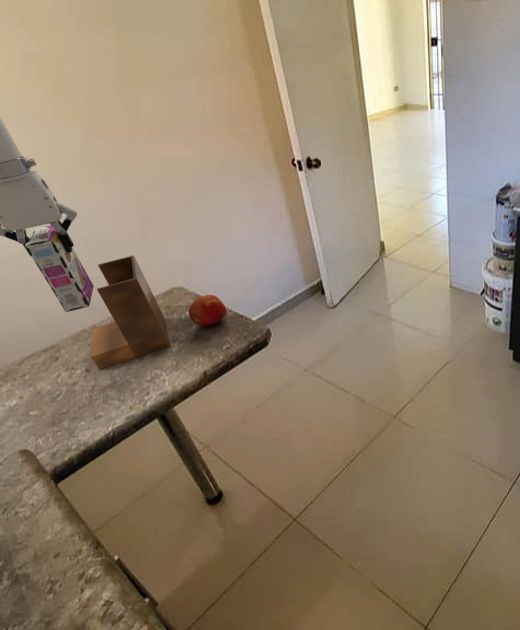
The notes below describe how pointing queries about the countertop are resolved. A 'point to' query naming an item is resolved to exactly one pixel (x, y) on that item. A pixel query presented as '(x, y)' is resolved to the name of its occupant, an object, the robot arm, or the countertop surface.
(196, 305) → the apple
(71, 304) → the candy bar box
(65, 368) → the countertop surface
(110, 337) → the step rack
